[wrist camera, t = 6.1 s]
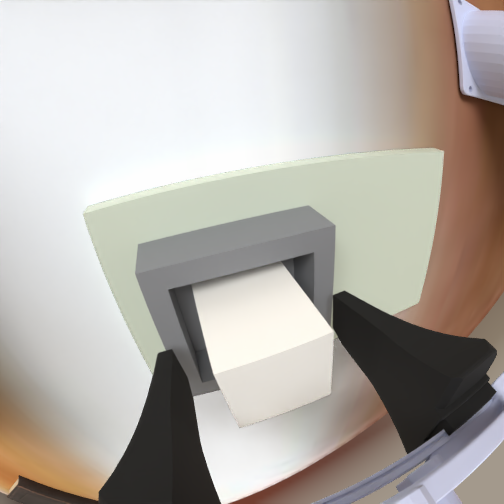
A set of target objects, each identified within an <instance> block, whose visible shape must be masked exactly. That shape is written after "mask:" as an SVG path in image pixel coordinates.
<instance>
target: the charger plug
mask: <svg viewBox="0 0 504 504" xmlns="http://www.w3.org/2000/svg"><path fill="white" fill-rule="evenodd" d="M191 285H192V290H193V294H194V299H195V303H196V307H197V312H198V316H199V320H200V324H201V328H202V332H203V336H204V340H205V344H206V348H207V352H208V356H209V360H210V363H211V367H212V371H213V374H214V377H215V379H216V381H217V383H218V385H219V387H220V389H221V391H222V394H223V396H224V398H225V400H226V402H227V404H228V406H229V408H230V410H231V412H232V414H233V416H234V418H235V420H236V422H237V424H238V426H239V428H242V427H245V426H248V425H251V424H254V423H257V422H260V421H263V420H266V419H269V418H272V417H275V416H278V415H280V414H283V413H286V412H288V411H291V410H294V409H296V408H299V407H301V406H304V405H306V404H309V403H311V402H314V401H316V400H318V399H321V398H323V397H325V396H328V395H330V394H331V382H332V364H333V341H334V331H333V330H332V328H331V327H330V326H329V324H328V323H327V322H326V320H325V319H324V318H323V316H322V315H321V314H320V312H319V311H318V310H317V308H316V307H315V306H314V304H313V303H312V302H311V300H310V299H309V298H308V296H307V295H306V294H305V292H304V291H303V290H302V289H301V287H300V286H299V285H298V283H297V282H296V281H295V279H294V278H293V277H292V275H291V274H290V273H289V271H288V270H287V269H286V268H285V266H284V265H283V264H282V262H281V261H279V262H276V263H272V264H268V265H264V266H260V267H256V268H252V269H248V270H245V271H241V272H237V273H233V274H229V275H225V276H221V277H217V278H213V279H209V280H205V281H201V282H197V283H193V284H191Z"/></svg>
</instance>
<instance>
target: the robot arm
mask: <svg viewBox="0 0 504 504" xmlns="http://www.w3.org/2000/svg"><path fill="white" fill-rule="evenodd" d="M449 3H450V8H451V13H452V18H453V24H454V31H455V38H456V45H457V54H458V65H459V79H460V90H461V92H462V94H464V95H468V96H472V97H476V98H480V99H484V100H487V101H491V102H495V103H498V104H501V105H504V11H481V10H479V9H478V8H476V7H475V6H473V5H471V4H470V3H468V2H466V1H465V0H449ZM333 329H334V331H335V332H336V334H337V336H338V338H339V340H340V341H341V343H342V345H343V346H344V347H345V349H346V350H347V351H348V353H349V354H350V355H351V357H352V358H353V359H354V360H355V362H356V363H357V364H358V366H359V367H360V368H361V370H362V371H363V372H364V373H365V375H366V376H367V377H368V379H369V380H370V382H371V383H372V385H373V386H374V388H375V389H376V391H377V393H378V395H379V396H380V398H381V400H382V402H383V403H384V405H385V407H386V409H387V411H388V413H389V415H390V416H391V419H392V421H393V423H394V425H395V427H396V429H397V431H398V433H399V436H400V438H401V440H402V443H403V445H404V448H405V450H406V452H407V455H406V456H404V457H403V458H401V459H400V460H398V461H396V462H395V463H393V464H391V465H390V466H388V467H386V468H384V469H383V470H381V471H379V472H377V473H375V474H374V475H372V476H370V477H368V478H366V479H364V480H362V481H360V482H358V483H357V484H354V485H352V486H350V487H348V488H346V489H344V490H342V491H340V492H338V493H335V494H333V495H331V496H328V497H326V498H324V499H321V500H319V501H316V502H314V503H311V504H351V503H353V502H355V501H357V500H359V499H361V498H363V497H365V496H367V495H369V494H371V493H372V492H374V491H376V490H378V489H380V488H382V487H383V486H385V485H387V484H389V483H390V482H392V481H394V480H395V479H397V478H399V477H400V476H402V475H404V474H405V473H407V472H408V471H410V470H411V469H413V468H414V467H416V466H417V465H419V464H420V463H422V462H423V461H425V460H426V461H425V463H424V464H423V465H422V466H420V467H419V468H418V469H416V470H415V471H414V472H412V473H411V474H409V475H408V476H407V478H406V479H404V480H403V481H402V482H401V483H400V484H398V485H397V486H396V488H397V490H398V491H399V493H397V494H396V495H394V496H392V497H391V498H389V499H387V500H385V501H384V502H382V503H380V504H463V503H462V502H461V500H460V499H459V497H458V496H457V494H456V493H455V491H454V490H453V489H454V488H455V487H457V486H458V485H459V484H460V483H461V482H462V481H463V480H465V479H466V478H467V477H468V476H469V475H470V474H471V473H472V472H473V471H474V470H475V469H476V468H477V467H478V466H479V465H480V464H481V463H482V462H483V461H484V460H485V459H486V458H487V457H488V456H489V455H490V454H491V453H492V452H493V451H494V450H495V449H496V448H497V447H498V445H499V444H500V443H501V442H502V441H503V440H504V372H503V373H502V374H501V375H500V376H499V377H498V378H497V379H496V380H495V381H494V383H493V384H492V385H490V384H489V383H488V381H489V379H490V378H489V377H488V376H487V374H486V373H487V371H488V370H489V368H490V366H491V365H492V363H493V361H494V359H495V358H496V355H497V350H496V349H495V348H494V347H493V346H492V345H491V344H490V343H489V342H488V341H486V340H485V339H478V338H466V337H459V336H453V335H448V334H443V333H439V332H435V331H432V330H428V329H425V328H422V327H419V326H416V325H413V324H411V323H408V322H406V321H403V320H401V319H399V318H396V317H394V316H392V315H390V314H388V313H386V312H384V311H382V310H380V309H378V308H376V307H374V306H372V305H370V304H368V303H367V302H365V301H363V300H361V299H359V298H358V297H356V296H354V295H352V294H350V293H348V292H347V291H345V290H344V291H342V292H339V293H337V294H334V295H333ZM99 504H221V502H220V500H219V497H218V495H217V492H216V490H215V487H214V484H213V481H212V479H211V476H210V473H209V470H208V467H207V464H206V461H205V457H204V454H203V451H202V447H201V442H200V437H199V431H198V425H197V419H196V413H195V406H194V400H193V395H192V391H191V388H190V384H189V380H188V377H187V375H186V373H185V372H184V370H183V368H182V366H181V364H180V363H179V361H178V359H177V357H176V355H175V354H174V352H173V350H172V349H170V350H166V351H163V352H159V353H158V354H157V358H156V363H155V368H154V372H153V377H152V381H151V384H150V388H149V392H148V396H147V399H146V402H145V405H144V408H143V411H142V414H141V417H140V420H139V422H138V425H137V427H136V430H135V432H134V435H133V437H132V439H131V441H130V443H129V445H128V447H127V449H126V451H125V453H124V455H123V457H122V458H121V460H120V462H119V463H118V465H117V467H116V468H115V470H114V472H113V473H112V475H111V476H110V477H109V479H108V480H107V482H106V483H105V484H104V486H103V487H102V488H101V490H100V491H99Z"/></svg>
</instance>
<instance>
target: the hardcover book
mask: <svg viewBox="0 0 504 504" xmlns="http://www.w3.org/2000/svg"><path fill="white" fill-rule="evenodd" d="M7 497H8V498H10V499H12V500H15V501H17V502H20V503H23V504H99V501H96V500H92V499H88V498H84V497H80V496H77V495H73V494H70V493H66V492H63V491H60V490H57V489H54V488H51V487H48V486H45V485H42V484H40V483H37V482H34V481H32V480H29V479H27V478H24V477H22V476H20V475H19V478H18V480H17V481H16V482H15V483H14V485H13V486H12V487H11V488H10V489H9V495H8V496H7Z"/></svg>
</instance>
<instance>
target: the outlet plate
mask: <svg viewBox="0 0 504 504" xmlns="http://www.w3.org/2000/svg"><path fill="white" fill-rule="evenodd" d="M443 158H444V151H441V150H438V149H435V148H418V149H401V150H386V151H374V152H363V153H353V154H344V155H335V156H326V157H318V158H311V159H303V160H296V161H289V162H283V163H276V164H270V165H264V166H258V167H252V168H247V169H241V170H236V171H231V172H225V173H220V174H215V175H210V176H206V177H201V178H196V179H192V180H187V181H183V182H178V183H174V184H170V185H165V186H161V187H157V188H153V189H149V190H145V191H141V192H137V193H133V194H130V195H126V196H122V197H119V198H115V199H111V200H108V201H104V202H101V203H98V204H94V205H91V206H88V207H87V208H86V210H85V211H84V213H83V216H84V219H85V222H86V225H87V228H88V231H89V234H90V237H91V240H92V243H93V245H94V248H95V251H96V253H97V256H98V259H99V261H100V264H101V267H102V269H103V272H104V274H105V277H106V279H107V281H108V284H109V286H110V289H111V291H112V293H113V296H114V298H115V300H116V302H117V305H118V307H119V309H120V311H121V313H122V316H123V318H124V320H125V322H126V324H127V326H128V328H129V330H130V332H131V334H132V336H133V338H134V340H135V342H136V344H137V346H138V348H139V350H140V352H141V354H142V356H143V358H144V360H145V361H146V363H147V365H148V367H149V369H150V371H151V372H152V374H153V372H154V368H155V363H156V358H157V354H158V353H159V352H163V351H166V350H170V349H172V350H173V352H174V354H175V355H176V357H177V359H178V361H179V363H180V364H181V366H182V368H183V370H184V372H185V373H186V375H187V377H188V380H189V384H190V388H191V391H192V395H193V396H197V395H201V394H205V393H209V392H213V391H217V390H221V389H220V387H219V385H218V383H217V381H216V379H215V377H214V374H213V371H212V367H211V363H210V360H209V356H208V352H207V348H206V344H205V340H204V336H203V332H202V328H201V324H200V320H199V316H198V312H197V307H196V303H195V299H194V294H193V290H192V285H191V284H193V283H197V282H201V281H205V280H209V279H213V278H217V277H221V276H225V275H229V274H233V273H237V272H241V271H245V270H248V269H252V268H256V267H260V266H264V265H268V264H272V263H276V262H279V261H281V262H282V264H283V265H284V266H285V268H286V269H287V270H288V271H289V273H290V274H291V275H292V277H293V278H294V279H295V281H296V282H297V283H298V285H299V286H300V287H301V289H302V290H303V291H304V292H305V294H306V295H307V296H308V298H309V299H310V300H311V302H312V303H313V304H314V306H315V307H316V308H317V310H318V311H319V312H320V314H321V315H322V316H323V318H324V319H325V320H326V322H327V323H328V324H329V326H330V327H331V328H332V330H333V331H334V329H333V295H334V294H337V293H339V292H342V291H344V290H345V291H347V292H348V293H350V294H352V295H354V296H356V297H358V298H359V299H361V300H363V301H365V302H367V303H368V304H370V305H372V306H374V307H376V308H378V309H380V310H382V311H384V312H386V313H388V314H390V315H394V314H396V313H398V312H400V311H402V310H405V309H407V308H409V307H411V306H413V305H415V304H417V303H419V300H420V296H421V292H422V288H423V284H424V280H425V276H426V272H427V268H428V263H429V258H430V254H431V249H432V244H433V238H434V233H435V227H436V221H437V214H438V207H439V199H440V191H441V182H442V171H443ZM336 338H338V336H337V334H336V332H335V331H334V339H336Z"/></svg>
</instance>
